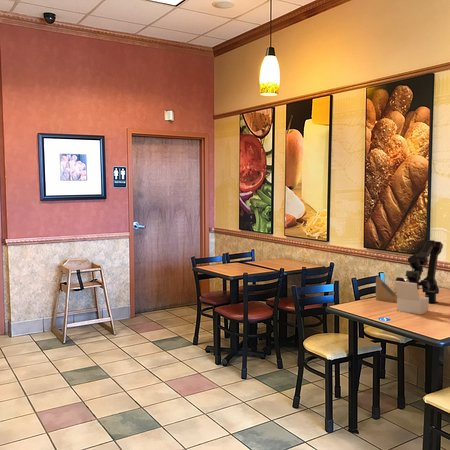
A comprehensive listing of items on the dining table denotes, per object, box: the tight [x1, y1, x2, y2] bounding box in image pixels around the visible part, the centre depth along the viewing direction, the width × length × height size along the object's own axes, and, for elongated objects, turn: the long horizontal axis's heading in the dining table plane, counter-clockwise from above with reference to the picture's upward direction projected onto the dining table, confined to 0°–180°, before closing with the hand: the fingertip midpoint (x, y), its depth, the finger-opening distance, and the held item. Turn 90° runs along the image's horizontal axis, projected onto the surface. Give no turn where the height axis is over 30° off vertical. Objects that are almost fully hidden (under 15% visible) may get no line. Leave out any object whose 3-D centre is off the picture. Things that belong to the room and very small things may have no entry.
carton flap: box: [393, 280, 420, 301], centre depth 283 cm, size 12×13×1 cm
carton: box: [396, 295, 430, 316], centre depth 290 cm, size 12×14×8 cm
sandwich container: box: [375, 275, 398, 303], centre depth 319 cm, size 9×15×15 cm, turn 65°
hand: (408, 295), depth 284 cm, fingers closed
